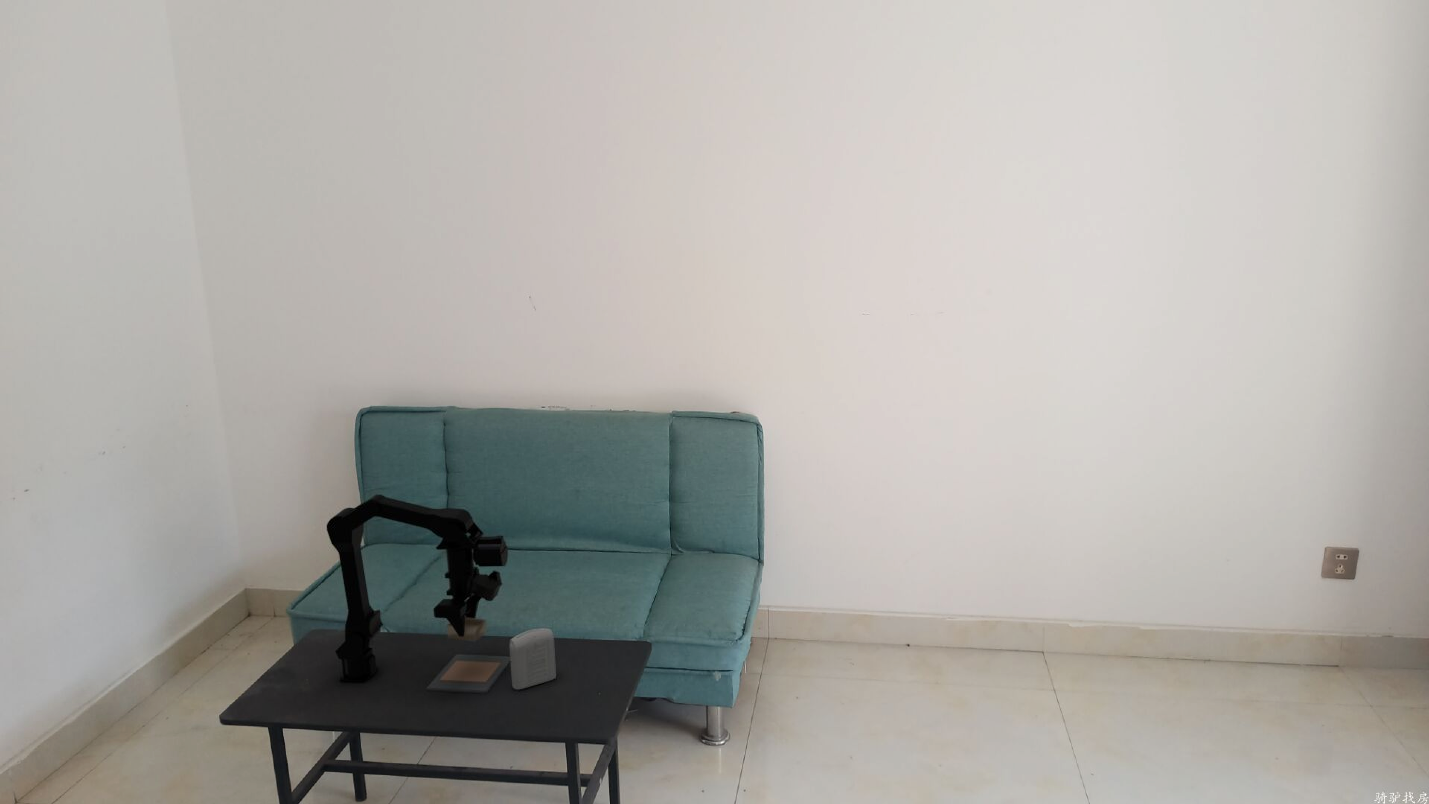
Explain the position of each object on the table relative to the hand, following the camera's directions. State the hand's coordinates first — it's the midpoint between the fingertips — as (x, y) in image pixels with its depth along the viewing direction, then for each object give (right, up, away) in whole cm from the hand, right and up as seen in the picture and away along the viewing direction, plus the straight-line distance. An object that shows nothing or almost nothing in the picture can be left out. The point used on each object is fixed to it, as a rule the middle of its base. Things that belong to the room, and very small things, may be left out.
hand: (466, 630), depth 214 cm
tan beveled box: (0, -1, 0) cm, 1 cm away
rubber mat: (0, -11, +2) cm, 11 cm away
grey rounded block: (+16, -11, -2) cm, 20 cm away
